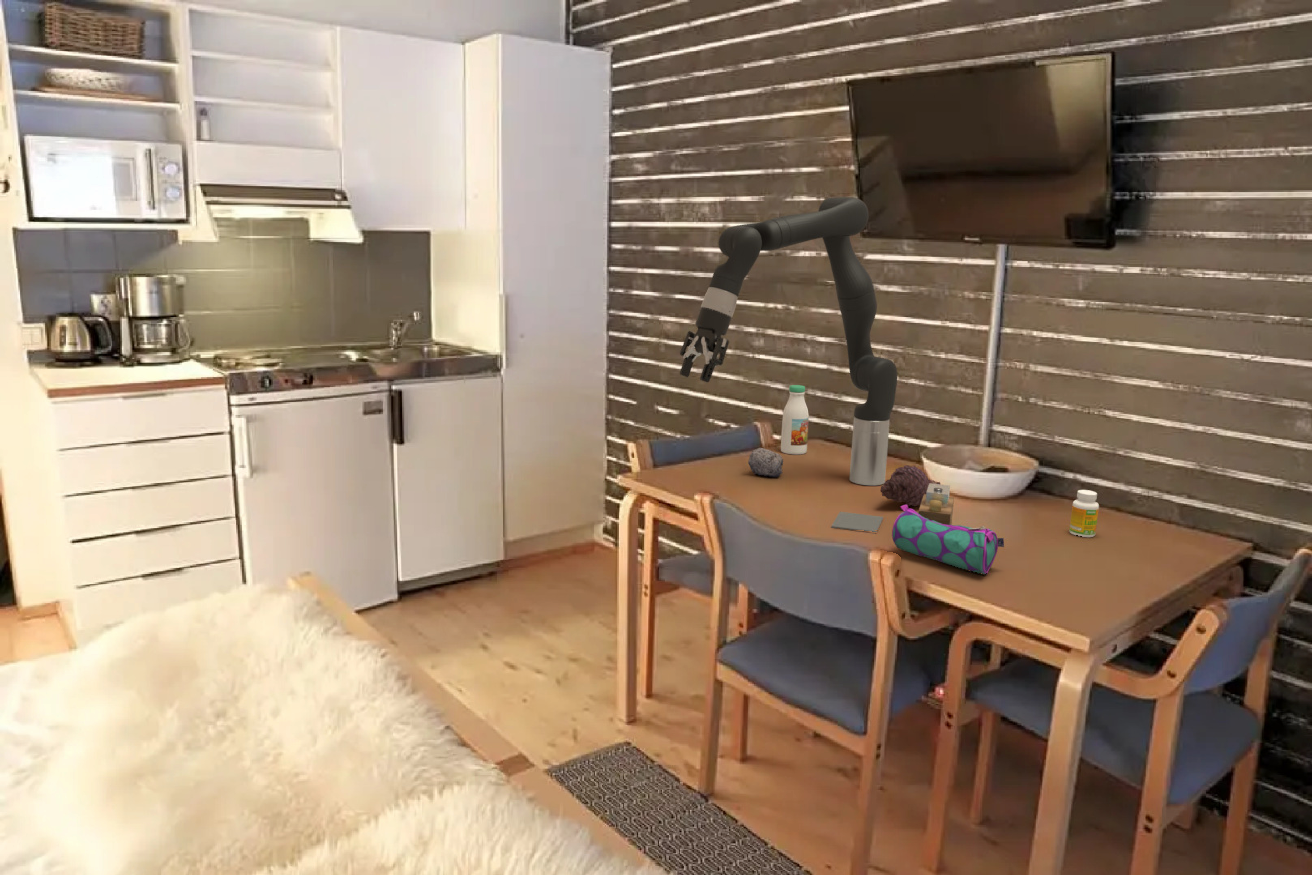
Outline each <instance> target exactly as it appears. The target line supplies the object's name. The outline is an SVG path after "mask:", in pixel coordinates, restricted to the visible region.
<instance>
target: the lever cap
mask: <svg viewBox="0 0 1312 875" xmlns="http://www.w3.org/2000/svg"><path fill="white" fill-rule="evenodd" d="M950 491H951V485H949V484H948V485H947V484H941V483H940V484H931V483H929V486H928V489H927V492H926V503H925V506H930V501H931V500H939V501H941V502H942V506H941V508H947V506H948V501H949V497H950V493H951V492H950Z"/></svg>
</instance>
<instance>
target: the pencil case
mask: <svg viewBox="0 0 1312 875" xmlns="http://www.w3.org/2000/svg"><path fill="white" fill-rule="evenodd" d="M899 508H900V509H901V510H902V511H903V512H900V514H898V516H897V517H896V518H895V521H894V523H893V526H892V529H891V536H892V537H891V538H892V542H893V544H894V545H895V547H896V548H897V549H899V550H900V549H901V551H905V552H906V553H909V552H910V554H913V555H916V556H918V555H919V557H922V556H924V558H926V557H927V559H931V560H934V561H938V562H941V563H943V564H946V565H949V566H951V565H952V566H951V567H954V566H955V568H957V567H958V569H960V568H962V569H961V570H964V569H967V570H970V571H969V572H971V571H973V572H972V573H975V572H977V573H976V574H979V573H982V574H986V573H987V574H988V573H989V571H990V569H991V567H992V566H993V563H994V561H995V558H996V556H997V554H998V548H1000V547H1001V548H1005V541H1004V540H1005V539H1004V537H998V536H997V533H996V532H995V531H994V530H992V529H990V528H987V527H985V526H983V525H982V526H980V527H974V528H973V527H970V526H966V525H960V524H957V525H953V524H951V525H945V524H941V523H938V522H936V521H933V520H929V519H927V518H924V517H923V516H921V515H920V514H919V512H917V511H915V509H913V508H909V506H908V505H907V504H903V505H901V506H899ZM967 570H966V571H967ZM982 574H981V575H982ZM987 574H986V575H987Z"/></svg>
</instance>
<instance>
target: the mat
mask: <svg viewBox="0 0 1312 875" xmlns="http://www.w3.org/2000/svg"><path fill="white" fill-rule="evenodd" d="M883 520H884V516H880V515H879V516H878V515H871V514H863V513H862V514H861V513H855V512H854V513H853V512H846V511H839V513H838V515H836V517H835V519H834V521H833V523H832V524H831V526H830V528H831V529H837V528H840V530H845V529H849V530H848V531H853V530H864V531H872V532H877V533H878V531H879V529H880V527H879V526H881V524H882V522H883ZM878 528H879V529H878ZM875 530H878V531H875Z"/></svg>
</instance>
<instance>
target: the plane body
mask: <svg viewBox="0 0 1312 875" xmlns="http://www.w3.org/2000/svg"><path fill="white" fill-rule="evenodd" d="M954 502H955V497H954V496H949V501H948V506H947V508H941V506H942V502H941V501H939V500H931V501H930V506H925V503H926V494H924V496H923V499H922V502H921V505H919V508H918V513H919V514H920V515H921V516H923V517H924V518H927V519H929V520H933V521H936V522H938V523H941V524H945V525H953V523H952V522H953V515H954V513H953V512H954Z"/></svg>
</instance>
